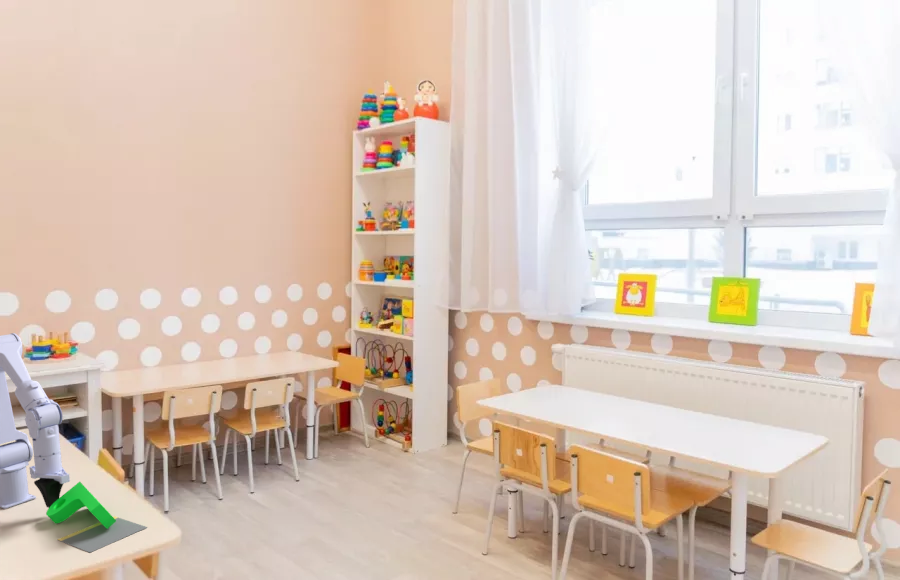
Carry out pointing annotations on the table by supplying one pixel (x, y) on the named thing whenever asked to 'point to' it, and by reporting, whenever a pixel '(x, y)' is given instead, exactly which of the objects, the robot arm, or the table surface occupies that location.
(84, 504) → the bracket
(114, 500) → the table surface
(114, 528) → the mat
